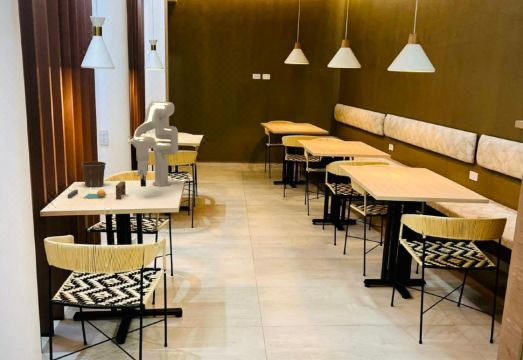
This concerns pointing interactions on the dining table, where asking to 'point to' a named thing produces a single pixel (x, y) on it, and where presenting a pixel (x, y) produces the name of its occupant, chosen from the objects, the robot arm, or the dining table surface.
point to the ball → (101, 193)
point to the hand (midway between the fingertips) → (143, 186)
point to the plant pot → (93, 173)
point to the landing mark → (94, 196)
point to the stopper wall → (73, 193)
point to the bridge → (120, 189)
